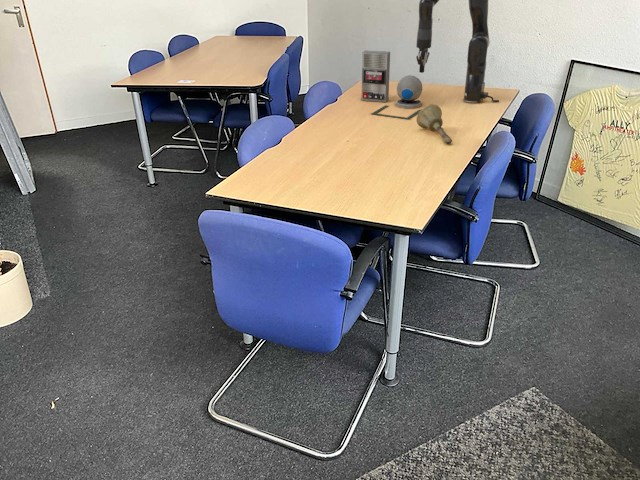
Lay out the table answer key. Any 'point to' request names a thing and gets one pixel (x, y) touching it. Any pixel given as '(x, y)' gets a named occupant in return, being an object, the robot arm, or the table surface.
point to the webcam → (409, 92)
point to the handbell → (432, 120)
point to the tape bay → (394, 116)
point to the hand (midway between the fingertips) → (421, 72)
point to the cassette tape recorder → (375, 75)
